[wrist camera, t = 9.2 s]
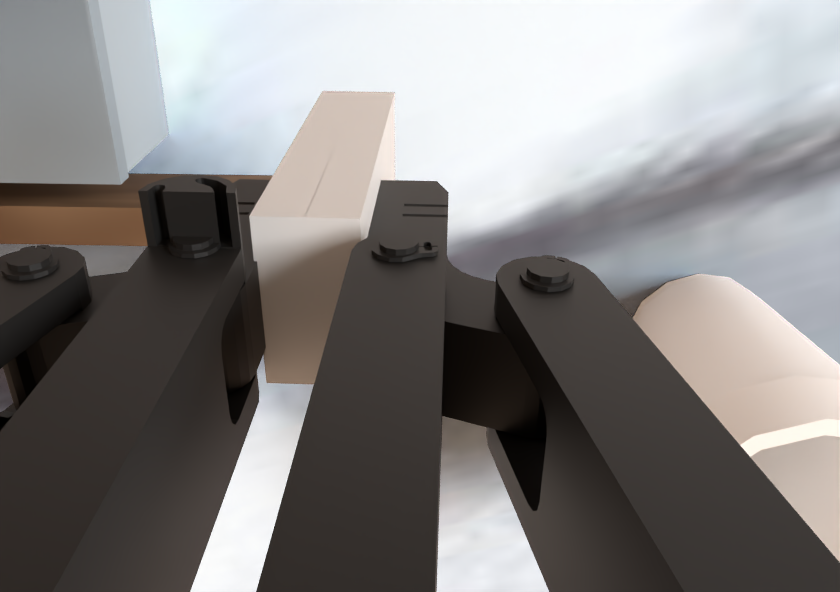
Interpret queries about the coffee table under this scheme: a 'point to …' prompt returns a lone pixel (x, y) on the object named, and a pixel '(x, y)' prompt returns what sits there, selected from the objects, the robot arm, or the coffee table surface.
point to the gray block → (78, 90)
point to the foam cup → (757, 387)
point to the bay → (79, 211)
